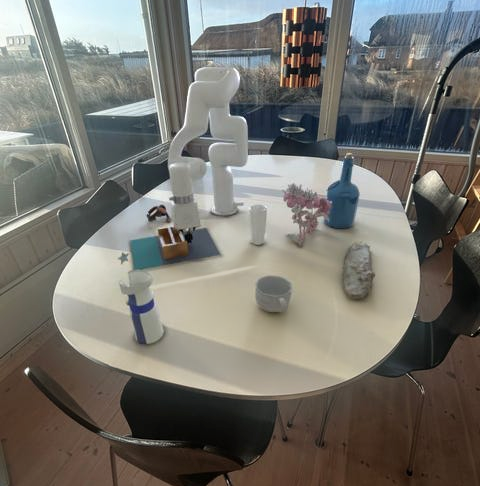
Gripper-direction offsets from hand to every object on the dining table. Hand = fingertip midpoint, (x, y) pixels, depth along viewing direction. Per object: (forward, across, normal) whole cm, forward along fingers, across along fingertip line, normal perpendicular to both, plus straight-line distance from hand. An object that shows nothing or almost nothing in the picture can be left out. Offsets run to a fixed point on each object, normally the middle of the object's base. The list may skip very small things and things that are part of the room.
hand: (189, 241), depth 129 cm
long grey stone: (+2, +52, -39) cm, 65 cm away
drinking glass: (+2, +27, -7) cm, 28 cm away
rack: (+1, -6, 0) cm, 7 cm away
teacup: (+2, +16, -47) cm, 50 cm away
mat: (+2, -6, 0) cm, 7 cm away
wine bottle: (+2, +67, -4) cm, 67 cm away
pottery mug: (+2, -8, +28) cm, 29 cm away
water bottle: (+2, -21, -45) cm, 49 cm away
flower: (+2, +48, -7) cm, 48 cm away
